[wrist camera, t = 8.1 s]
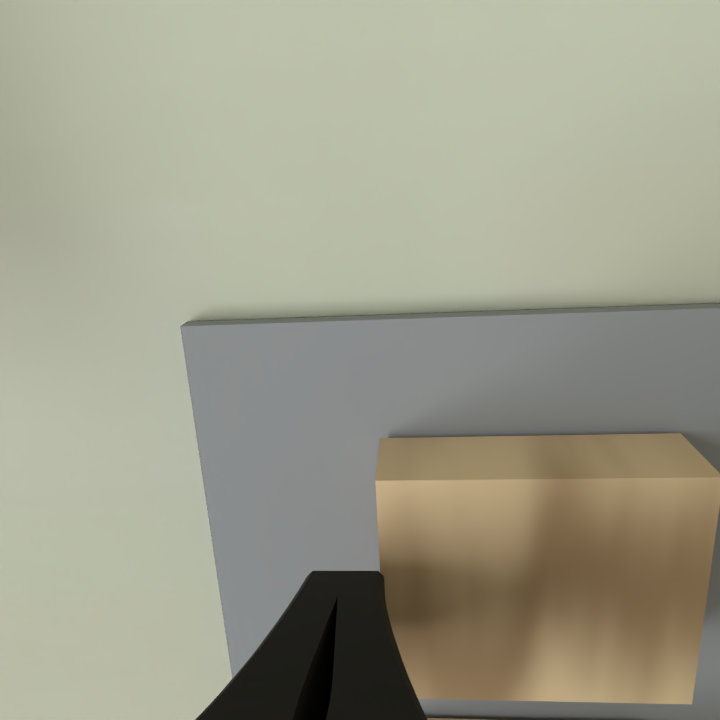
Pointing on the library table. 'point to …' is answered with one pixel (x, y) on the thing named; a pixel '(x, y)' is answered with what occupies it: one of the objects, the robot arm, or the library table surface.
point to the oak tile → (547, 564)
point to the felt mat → (425, 419)
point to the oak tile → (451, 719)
